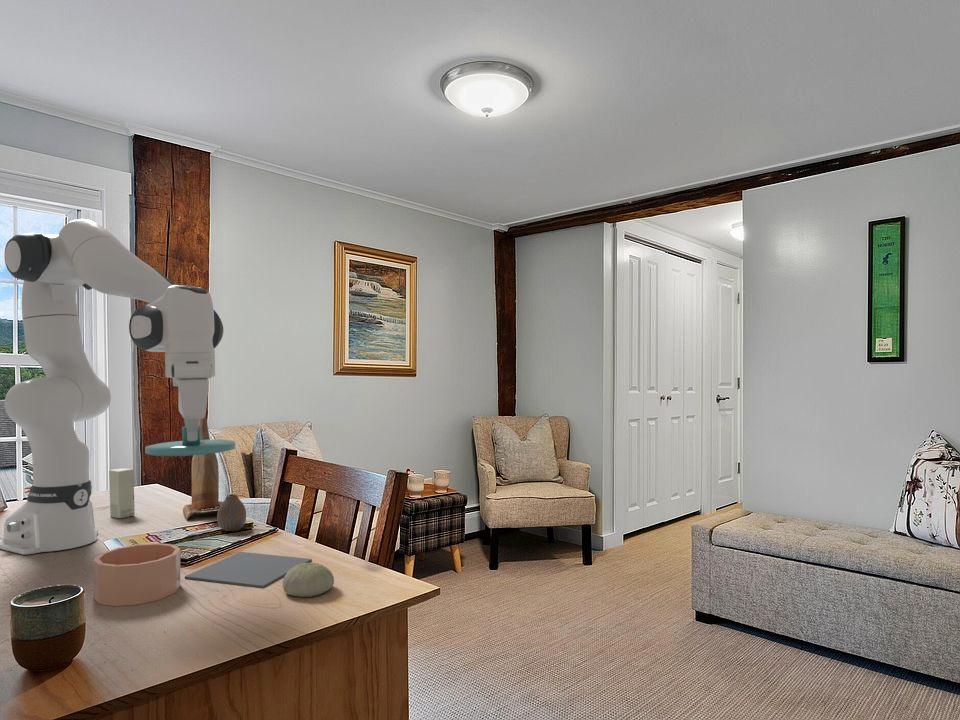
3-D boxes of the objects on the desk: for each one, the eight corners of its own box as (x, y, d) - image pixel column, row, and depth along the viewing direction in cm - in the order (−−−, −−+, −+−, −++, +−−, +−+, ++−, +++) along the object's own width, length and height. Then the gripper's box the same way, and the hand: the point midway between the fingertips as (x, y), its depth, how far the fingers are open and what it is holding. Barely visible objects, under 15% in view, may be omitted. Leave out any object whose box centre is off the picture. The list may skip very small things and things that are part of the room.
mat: (184, 578, 129) (184, 576, 129) (240, 553, 145) (240, 551, 145) (263, 587, 124) (263, 585, 124) (311, 560, 140) (311, 558, 140)
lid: (125, 454, 122) (124, 430, 122) (188, 443, 137) (187, 422, 137) (195, 457, 117) (195, 432, 117) (252, 445, 132) (252, 423, 132)
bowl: (76, 600, 117) (76, 561, 117) (137, 576, 130) (137, 541, 130) (138, 609, 113) (138, 569, 113) (195, 583, 126) (195, 546, 126)
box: (135, 515, 180) (135, 469, 180) (119, 519, 176) (119, 471, 176) (124, 513, 182) (124, 467, 182) (108, 516, 179) (108, 469, 179)
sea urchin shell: (311, 593, 115) (288, 556, 118) (289, 618, 118) (268, 582, 121) (347, 578, 123) (325, 544, 126) (326, 602, 126) (305, 568, 129)
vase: (236, 534, 161) (236, 498, 161) (211, 532, 163) (211, 497, 162) (251, 526, 168) (251, 492, 168) (227, 525, 169) (227, 491, 169)
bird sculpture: (223, 509, 189) (221, 398, 190) (231, 516, 179) (229, 399, 180) (181, 514, 183) (179, 400, 184) (187, 522, 173) (185, 401, 174)
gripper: (170, 368, 135) (171, 435, 135) (174, 369, 116) (175, 446, 117) (203, 367, 138) (204, 433, 138) (212, 368, 119) (213, 444, 119)
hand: (191, 439), depth 127 cm, fingers closed on lid, 3 cm apart
